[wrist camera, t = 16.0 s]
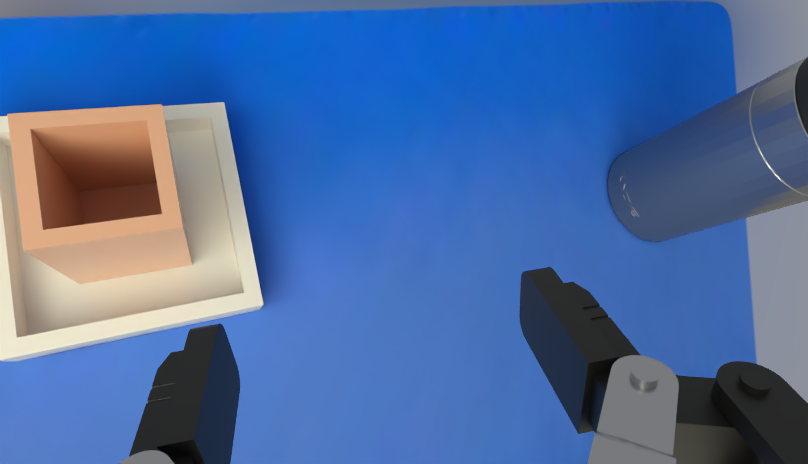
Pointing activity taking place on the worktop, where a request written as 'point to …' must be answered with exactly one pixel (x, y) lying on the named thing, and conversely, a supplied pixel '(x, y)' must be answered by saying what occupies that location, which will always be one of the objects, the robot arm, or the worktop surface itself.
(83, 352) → the worktop surface
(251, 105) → the worktop surface
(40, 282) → the tray
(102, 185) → the cup
